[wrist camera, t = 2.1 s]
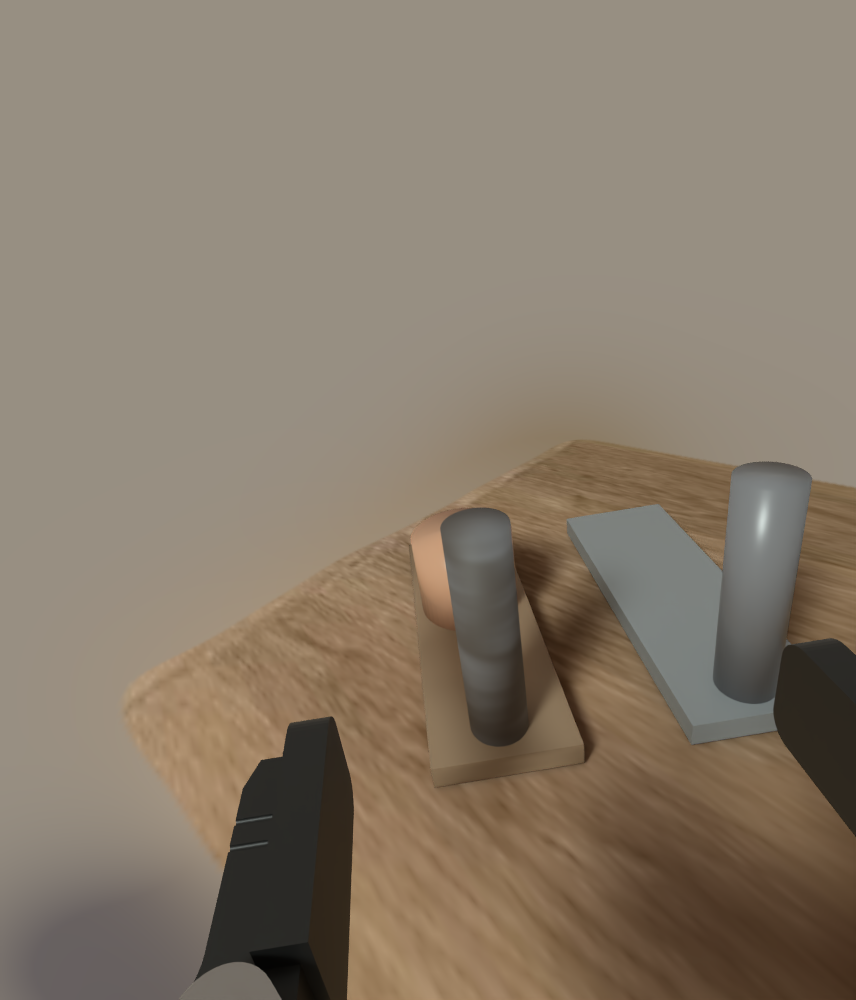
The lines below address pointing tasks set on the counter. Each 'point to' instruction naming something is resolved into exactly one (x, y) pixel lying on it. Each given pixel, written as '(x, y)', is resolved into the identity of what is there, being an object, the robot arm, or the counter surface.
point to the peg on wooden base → (489, 665)
